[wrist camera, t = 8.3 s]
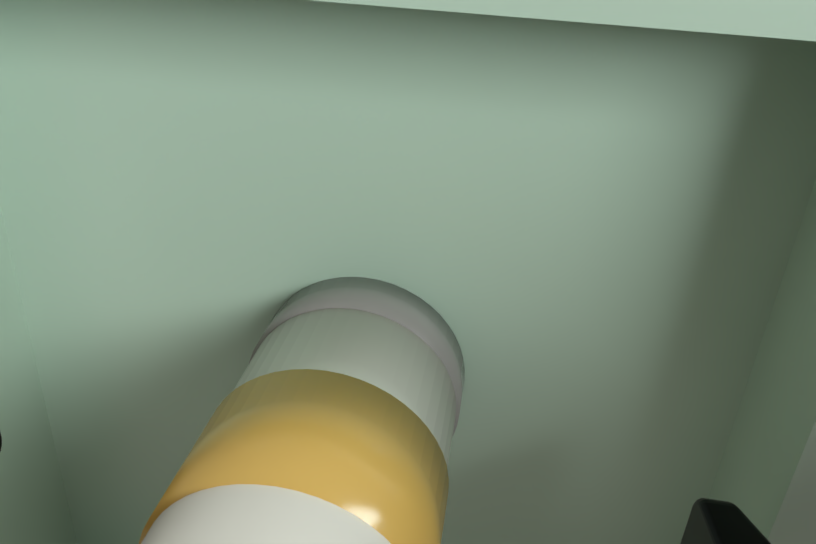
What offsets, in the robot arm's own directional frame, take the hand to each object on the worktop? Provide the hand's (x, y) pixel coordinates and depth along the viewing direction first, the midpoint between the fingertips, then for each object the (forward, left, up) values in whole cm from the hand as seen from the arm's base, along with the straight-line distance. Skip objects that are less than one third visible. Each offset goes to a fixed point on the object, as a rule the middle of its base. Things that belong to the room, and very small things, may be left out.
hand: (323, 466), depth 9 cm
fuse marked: (0, 0, -2) cm, 2 cm away
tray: (0, 0, -3) cm, 3 cm away
